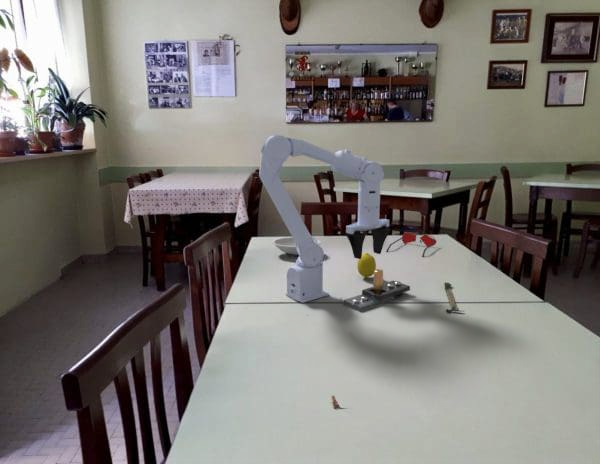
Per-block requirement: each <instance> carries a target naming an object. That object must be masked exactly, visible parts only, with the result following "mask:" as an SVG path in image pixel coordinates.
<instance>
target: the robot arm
mask: <svg viewBox="0 0 600 464" xmlns="http://www.w3.org/2000/svg"><path fill="white" fill-rule="evenodd" d="M351 152H352V151H351V150H349V149H344V150H342V149H340V150H338V151H336V152H332V151H330V150H327V149H326V148H323V147H320V146H319V145H315V144H313V143H311V142H308V141H305V140H303V139H298V138H292V137H288V136H284V135H280V134H271V135H270V136H268V137H267V138H266V140H265V141H264V143H263V145H262V148H261V150H260V159H259V160H260V162H259V173H258V176H259V178H260V179H259V180H260V181H261V182H262V184H263V186H264V188H265V190H266V192H267V193H268V195H269V197H270V198H271V201H272V203H273V204H274V207H275V208H276V210H277V212H278V213H279V215H280V217H281V219H282V221H283V222H284V224H285V226H286V228H287V230H288V231H289V233H290V235H291V237H293V239H294V241H295V243H296V251H297V253H298V254H299V255H298V257H297V259H296V260H295V265H293V266H292V267H290V268H288V269H287V271H286V292H285V293H284V294H285V296H288V297H290V298H292V299H293V300H296V301H298V302H299V303H303V304H304V303H306V302H310V301H313V300H316V299H320V298H324V297H327V296H330V292H328V291H325V290H323V289H324V288H323V287H324V283H323V281H324V280H323V279H324V277H323V270H324V269H323V267H324V266H323V265H324V264H323V263H324V262H323V260H324V255H325V253H324V249H323V247H322V246H321V245H320V244H318V242H317V240H318V239H317V238H315V237H313V236H312V235H311V233H310V232H309V229H308V228H307V226H306V225H305V223H304V221H303V218H302V217H301V215H300V213H299V211H298V210H297V207H296V206H295V204H294V202H293V200H292V198H291V196H290V194H289V193H288V191H287V189H286V188H285V185H284V183H283V182H282V180H281V178H280V173H281V170H282V169H283V168H282V167H283V165H284V164H285V162H286V161H287V160H288V159H289V157H293V158H295V157H300V156H304V157H308V158H311V159H314V160H317V161H320V162H323V163H325V164H328V165H329V166H330V167H331V169H332V171H333V172H336V173H339V174H341V175H343V176H347V177H349V178H352V179H354V180H355V179H357V180H358V194H357V196H358V197H357V198H358V199H357V222H356V221H355V222H354V223H351V224H349V225H346V226H345V228H346V229H345V235H346V239H347V240H348V242H349V243H350V246H351V249H352V254H353V258H355V259H358V260H359V259H361V257H362V255H363V245H364V241H365V239H366V235H365V234H363V233H362V232H365V231H370V232H371V235H372V236H371V237H372V248H373V249H372V250H373V253H374V254H377V255H381V253H382V250H383V246H384V243H385V242H386V240H387V237H388V235H389V234H390V233H391V229H390V228H389V227H390V219H387V218H381V219H380V212H381V211H380V205H381V204H380V203H381V182H382V180H383V179H384V177H385V172H384V170H383V167H382V166H381V165H380V164H379V163H378V162H374V161H371V160H370V159H368V157H366V156H358V155H356V154H353V153H351ZM316 239H317V240H316Z"/></svg>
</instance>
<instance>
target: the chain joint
mask: <svg viewBox="0 0 600 464" xmlns="http://www.w3.org/2000/svg"><path fill="white" fill-rule="evenodd" d="M408 291H411V286H410V285H408V284H405V283H402V282H401V281H397V280H391V281H388V282H383V290H382V293H380V294H376V293H373V286H371V287H367V288H364V289H362V290H361V294H359V295H355V296H352V297H350V298H346V299H343V305H344V306H346V307H348V308H351V309H353V310H355V311H358V312H363V311H366V310H369V309H372V308H374V307H377V306H380V305H383V304H386V303H390V302H392V301H394V297H395V296H397V295H401V294H403V293H404V294H405V293H407V292H408Z"/></svg>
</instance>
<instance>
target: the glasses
mask: <svg viewBox="0 0 600 464" xmlns="http://www.w3.org/2000/svg"><path fill="white" fill-rule="evenodd" d="M418 235H419V236H420V237H419V242H420V243H422V242H423V244H424V246H426V247H425V248H424V250H423V252H422V255H421V258H422V257H423V258H424V256H425V253H426V251H427V250H428V249H429V248H430V247H433V246H435V245H436V244H437V240H436V238H435V237H434V236H432V235H430V234H429V235H428V234H423V235H422V234H420V233H412V232H411V233H410V232H403V233H402V235H401V237H400V238H398V239H397V240H395V241H393V242H391V243H390V244H389V245H388V247H387V248H386V251H385V253H388V252H389V250H390V248H391V246H392V245H394V244H396V243H397V242H399V241H400V240H401V242H402V243H403V244H409V243H415V242H417V241H416V240H417V236H418Z"/></svg>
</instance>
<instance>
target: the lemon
mask: <svg viewBox="0 0 600 464" xmlns="http://www.w3.org/2000/svg"><path fill="white" fill-rule="evenodd" d="M356 266H357V267H356V268H357V272H358V273H359V275H360V276H362V277H364V278H365V279H368V278H369V277H372V276H374V270H376V269H377V262H376V259H375V257H374V256H373V255H372V254H370V253H368V252H365V253H364V254H362V257H361V259H358V260H357V265H356Z"/></svg>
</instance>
